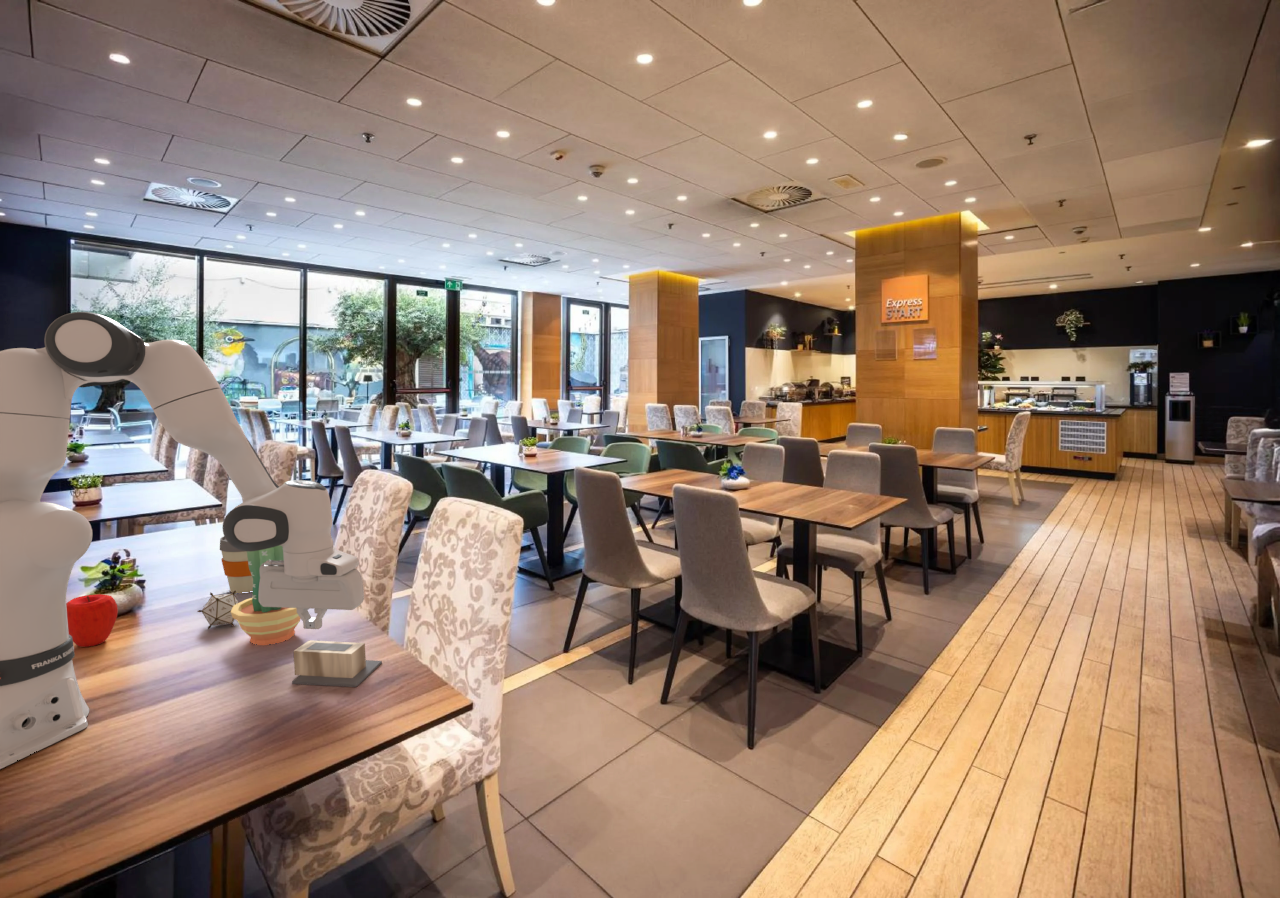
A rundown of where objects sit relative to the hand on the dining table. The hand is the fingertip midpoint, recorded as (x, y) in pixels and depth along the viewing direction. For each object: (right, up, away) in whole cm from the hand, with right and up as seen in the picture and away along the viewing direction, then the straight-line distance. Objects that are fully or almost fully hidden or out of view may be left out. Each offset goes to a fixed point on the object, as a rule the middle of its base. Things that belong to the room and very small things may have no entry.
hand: (313, 628), depth 123 cm
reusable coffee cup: (-44, -3, +49) cm, 66 cm away
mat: (+5, -9, 0) cm, 10 cm away
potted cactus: (-18, -7, +17) cm, 26 cm away
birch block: (-3, -6, +1) cm, 7 cm away
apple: (-56, -7, +13) cm, 58 cm away
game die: (-34, -6, +23) cm, 42 cm away
